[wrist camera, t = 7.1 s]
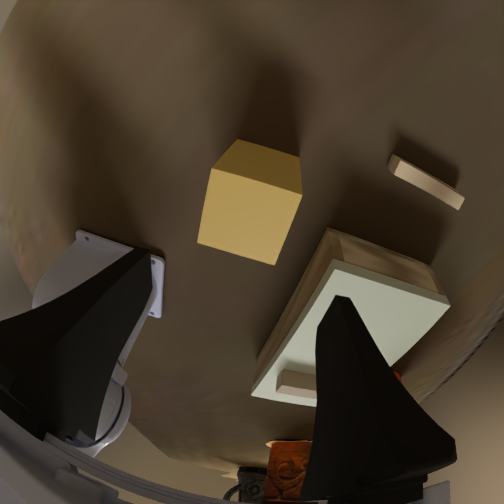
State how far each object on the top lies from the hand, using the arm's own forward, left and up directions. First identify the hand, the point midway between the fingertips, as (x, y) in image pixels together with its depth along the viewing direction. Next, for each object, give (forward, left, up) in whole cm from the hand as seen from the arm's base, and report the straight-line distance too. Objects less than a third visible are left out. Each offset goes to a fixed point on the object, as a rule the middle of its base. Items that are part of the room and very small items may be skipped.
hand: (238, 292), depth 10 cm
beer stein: (+30, -107, -10) cm, 111 cm away
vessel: (+25, -55, -10) cm, 61 cm away
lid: (+10, -10, -6) cm, 15 cm away
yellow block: (0, +1, -9) cm, 9 cm away
